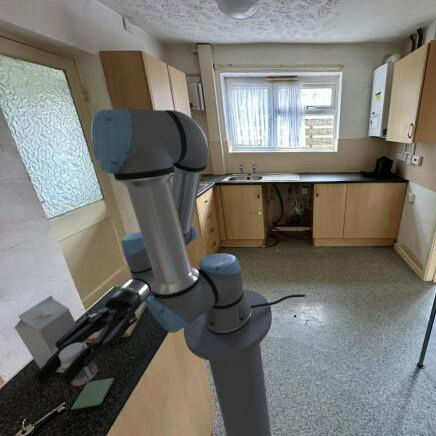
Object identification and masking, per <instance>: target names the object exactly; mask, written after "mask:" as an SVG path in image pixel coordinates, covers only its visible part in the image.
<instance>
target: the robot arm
mask: <svg viewBox="0 0 436 436" xmlns="http://www.w3.org/2000/svg"><path fill="white" fill-rule="evenodd" d="M90 138H91V145H92V151H93V155H94V157H95V160H96V161H97V163H98V166H99V168H100V169H101V170H102V171H103V172H105V173H107V174H111V175H112V174H113V177H114V180H115V181H116V182H117V183H119V184H121V185H122V186H123V187H125V188H126V190H127V193H128V196H129V199H130V203H131V206H132V209H133V212H134V215H135V218H136V222H137V224H138V228H139V231H137V232H133V233H129V234H127V235H125V236H123V238H122V239H121V243H120V244H121V248H122V252H123V255H124V258H125V260H126V263H127V265H128V268H129V271H130V276H131V277H130V278H129V279H128V280H127V281H126V282H125V283H124V284H123V285H122V286H121V287H120V288H118V290H117V291H116V292H115V293H114V294H112V296H110V297H109V298H108V299H107V300H106V302H105V305H104V307H103V308H102V309H99V310H98V311H97V312H96V313H91V312H89V311H88V312H85V313H84V314H83V316H82V317H81V319H79V320H78V321H77V322H76V325H74V326H73V327H72V328H71V329H70V330H69V331H68V332H67V333H66V334H65V335H64V336H62V337H61V338H60V339H59V340H58V341H57V342H56V343H55V345H56V347H57V349H58V351H57V352H56V353H54V354H53V355H52V356H51V357H50V358H49V359H48V360H47V362H46V364H45V365H44V366H43V367H42V368H41V369H40V368H39V369H38V371H36V372H35V373H34V374H33V375H32V378H33V379H34V380H35V382H36V384H38V386H43V385H44V384H45V383H46V382H47V381H48V380H49V379H50V378H51V377H52V376H53V375H54V374H55V373H57V372H56V371H57V370H58V368H59V367H60V366H61V361H60V358H59V354H60V352H61V351H62V350H63V349H64V348H66V347H67V346H69V345H71V344H74V343H83V342H84V341H85V340H86V339H88V338H89V337H90V336H91V335H93V334H94V333H95V332H99V331H100V330H101V329H102V331H101V332H100V334H99V336H98V337H97V339H96V340H95V342H90V345H91V346H87V347H86V348H85V350H84V351H83V352H82V353H81V354H80V355H79V356H78V357H77V358H76V359H75V360H74V361H73V362H72V364H71V365H70V366H69V367H68V368H67V369H66V370H65V371H64V372H63V373H61V374H60V375H59V377H60V379H61V381H62V382H63V384H64V386H69V385H70V384H71V382H72V381H73V380H74V379H75V377H76V376H77V375H78V374H79V373H80V372H81V370H82V369H83V368H84V367H87V366H88V365H89V364H90V363H91V362H92V361H93V360H94V359H96V357H97V356H99V355H100V354H101V353H102V352H105V353H109V352H111V350H113V348H114V347H115V346H116V345H117V343H118V342H119V341H120V340H121V339H122V338H121V337H122V336H123V335H124V333H125V332H126V331H127V330H128V329H129V327H130V326H131V325H132V324H134V323H135V322H136V321H137V317H136V314H135V311H136V310H137V309H138V308H139V306H140V305H141V304H142V303H143V302H146V305H147V307H146V308H147V309H148V310H149V312H150V314H151V315H152V316H153V318H154V319H155V320H156V322H157V323H158V324H159V325H160V327H162V328H163V329H164V330H165V331H167V332H168V333H171V334H175V333H178V332H179V331H181V330H182V329H184V327H185V326H188V325H189V323H191V322H192V321H194V320H195V319H196V318H198V317H199V316H200V315H202V314H203V313H206V315H205V322H206V326H207V328H208V330H209V331H211V332H212V333H214V334H218V335H227V334H232V333H235V332H237V331H239V330H240V329H242V328H243V327H245V326H246V325H247V323H248V322H249V320H250V318H251V315H252V312H251V308H256V307H262V306H269V305H270V306H274V305H277V304H279V303H280V302H283V301H285V300H288V299H292V298H305V297H306V294H303V293H302V294H289V295H286V296H283V297H281V298H279V299H277V300H275V301H271V302H269V303H264V304H258V305H252V306H250V304H249V302H248V301H247V299H246V297H245V295H244V293H243V289H244V287H243V279H242V268H241V265H240V261H239V258H238V257H236V256H235V255H233V254H230V253H213V254H209V255H206V256H204V257H203V258H202V259H200V261H199V264H198V267H199V268H198V269H196V268H195V267H192V266H191V265H192V264H191V261H190V257H189V253H188V249H187V246H188V245H189V244H191V243H193V242H195V241H196V240H197V237H198V235H197V229H196V228H195V226H194V225H193V224H192V223H193V220H194V219H193V218H194V213H195V208H196V203H197V200H198V194H199V188H200V184H201V179H202V174H203V172H205V171H206V170H207V167H208V163H209V160H210V159H209V156H210V151H209V144H208V140H207V136H206V134H205V132H204V131H203V129H202V127H201V126H200V125H199V123H198V122H196V121H195V120H194V119H193V118H192V117H191V116H189V115H187V114H186V113H183V112H181V111H178V110H174V109H173V110H172V109H160V110H159V109H139V108H114V109H113V108H112V109H111V108H110V109H102V110H99V111H98V112H96V113H95V114H94V116H93V118H92V121H91V127H90Z"/></svg>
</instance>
